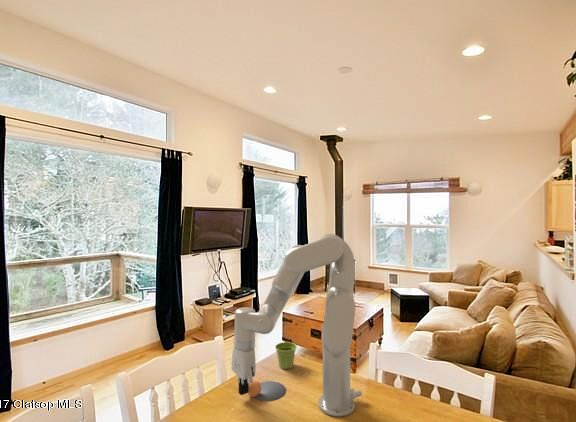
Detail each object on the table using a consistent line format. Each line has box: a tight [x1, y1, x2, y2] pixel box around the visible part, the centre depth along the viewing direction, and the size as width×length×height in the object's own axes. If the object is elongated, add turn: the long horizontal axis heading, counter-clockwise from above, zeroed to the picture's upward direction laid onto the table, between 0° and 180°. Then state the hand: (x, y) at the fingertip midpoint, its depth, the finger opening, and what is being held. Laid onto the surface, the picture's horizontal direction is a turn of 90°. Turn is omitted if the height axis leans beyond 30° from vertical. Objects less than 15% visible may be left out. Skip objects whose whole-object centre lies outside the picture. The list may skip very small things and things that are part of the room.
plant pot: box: [274, 341, 297, 370], centre depth 146 cm, size 9×9×9 cm
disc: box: [254, 380, 287, 402], centre depth 127 cm, size 13×13×1 cm
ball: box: [247, 379, 261, 398], centre depth 123 cm, size 6×6×6 cm
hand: (243, 392), depth 121 cm, fingers closed
